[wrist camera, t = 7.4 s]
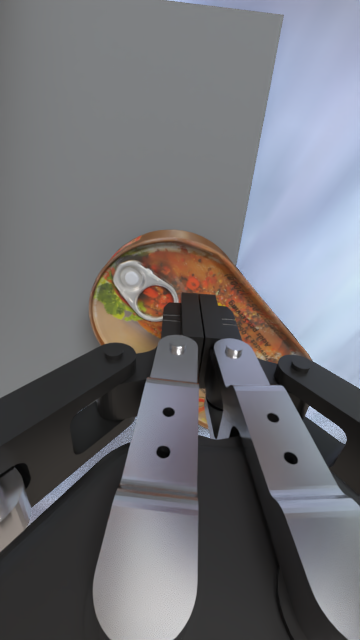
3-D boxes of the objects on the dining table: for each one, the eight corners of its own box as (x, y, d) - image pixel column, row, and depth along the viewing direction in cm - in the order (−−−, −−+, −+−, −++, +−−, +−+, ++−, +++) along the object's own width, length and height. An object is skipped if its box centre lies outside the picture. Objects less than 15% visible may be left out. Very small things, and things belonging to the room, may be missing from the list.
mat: (280, 18, 12) (283, 14, 11) (207, 408, 23) (207, 412, 22) (-142, -34, 11) (-152, -39, 11) (-5, 397, 22) (-7, 400, 22)
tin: (340, 393, 18) (231, 458, 20) (315, 362, 21) (222, 423, 23) (179, 195, 12) (50, 318, 14) (175, 189, 15) (67, 293, 17)
